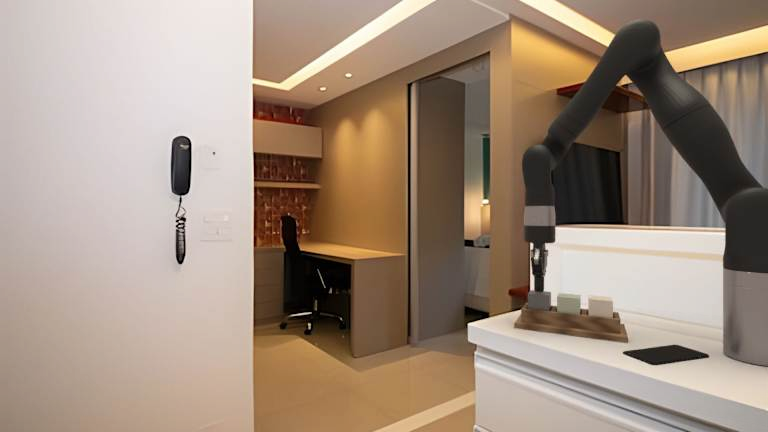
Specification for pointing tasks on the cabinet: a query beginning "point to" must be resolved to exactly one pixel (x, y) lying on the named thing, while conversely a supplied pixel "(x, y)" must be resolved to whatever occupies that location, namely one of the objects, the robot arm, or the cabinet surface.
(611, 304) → the beige cube
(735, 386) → the cabinet surface
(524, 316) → the wooden tray
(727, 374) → the cabinet surface
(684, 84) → the robot arm
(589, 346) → the cabinet surface
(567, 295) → the key sage
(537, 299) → the key charcoal
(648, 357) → the smartphone
